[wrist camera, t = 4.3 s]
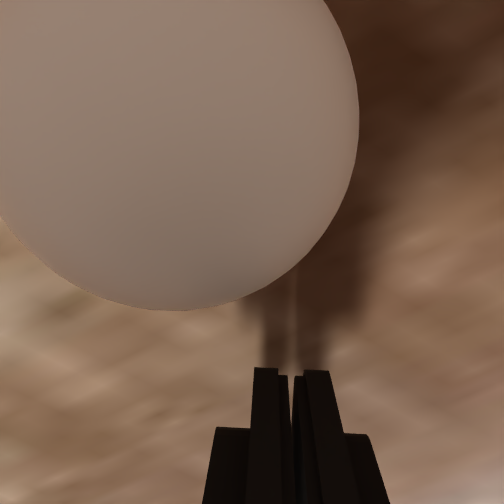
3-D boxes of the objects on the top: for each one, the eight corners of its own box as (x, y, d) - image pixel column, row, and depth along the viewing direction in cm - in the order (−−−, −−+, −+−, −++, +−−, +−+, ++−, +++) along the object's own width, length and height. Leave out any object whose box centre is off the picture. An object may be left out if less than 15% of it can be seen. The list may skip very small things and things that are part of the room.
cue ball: (451, 0, 2) (452, 68, 7) (-150, -341, 3) (202, -82, 8) (137, 473, 5) (289, 295, 10) (-152, 209, 6) (115, 162, 11)
